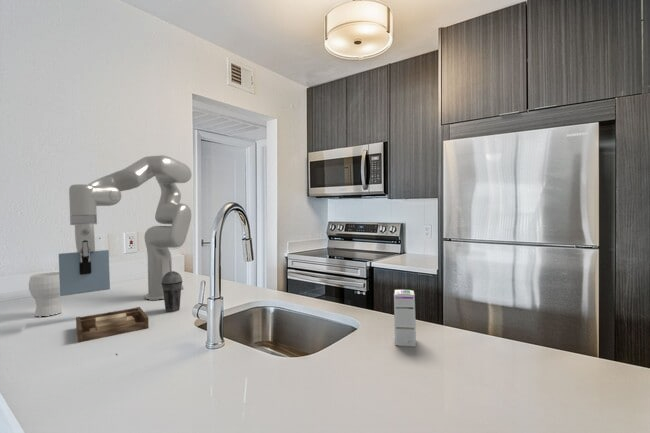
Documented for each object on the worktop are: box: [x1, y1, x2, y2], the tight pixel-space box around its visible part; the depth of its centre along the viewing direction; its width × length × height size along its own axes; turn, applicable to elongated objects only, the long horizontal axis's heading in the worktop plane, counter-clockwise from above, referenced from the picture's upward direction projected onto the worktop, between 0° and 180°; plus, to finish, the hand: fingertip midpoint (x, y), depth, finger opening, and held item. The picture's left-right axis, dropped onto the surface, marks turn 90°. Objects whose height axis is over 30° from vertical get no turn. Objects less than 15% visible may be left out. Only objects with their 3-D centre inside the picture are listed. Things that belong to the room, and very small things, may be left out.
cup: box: [28, 271, 62, 317], centre depth 126 cm, size 11×11×15 cm
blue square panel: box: [58, 249, 111, 297], centre depth 116 cm, size 14×2×14 cm, turn 128°
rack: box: [75, 306, 150, 343], centre depth 107 cm, size 18×15×4 cm
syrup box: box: [393, 289, 417, 348], centre depth 95 cm, size 6×6×14 cm
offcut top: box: [96, 313, 127, 326], centre depth 104 cm, size 8×4×2 cm, turn 124°
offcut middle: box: [95, 316, 135, 331], centre depth 105 cm, size 10×4×2 cm, turn 131°
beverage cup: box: [161, 260, 183, 313], centre depth 125 cm, size 7×7×20 cm
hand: (85, 273), depth 116 cm, fingers closed on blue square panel, 2 cm apart
